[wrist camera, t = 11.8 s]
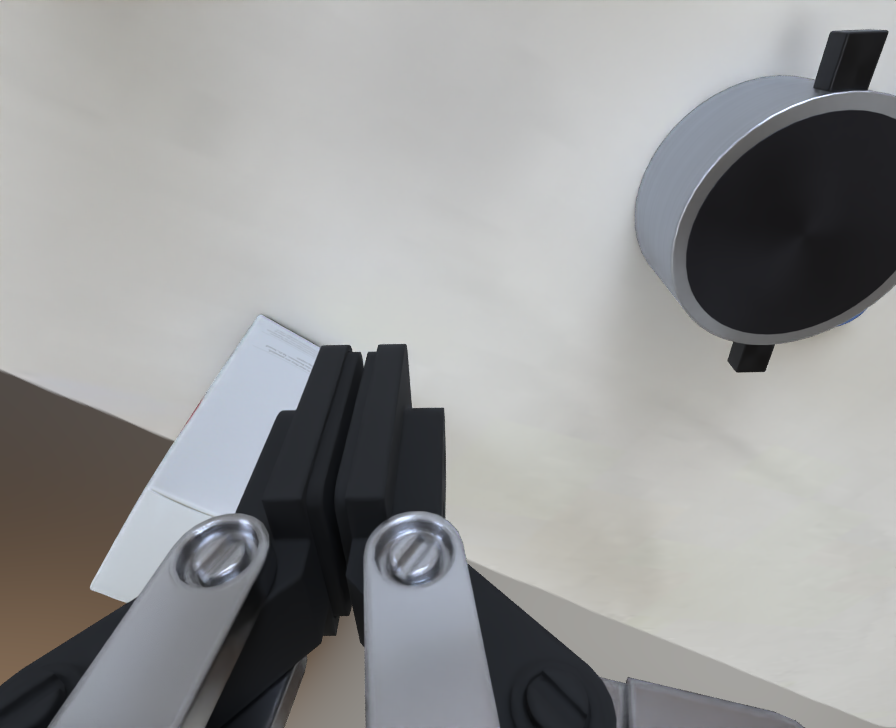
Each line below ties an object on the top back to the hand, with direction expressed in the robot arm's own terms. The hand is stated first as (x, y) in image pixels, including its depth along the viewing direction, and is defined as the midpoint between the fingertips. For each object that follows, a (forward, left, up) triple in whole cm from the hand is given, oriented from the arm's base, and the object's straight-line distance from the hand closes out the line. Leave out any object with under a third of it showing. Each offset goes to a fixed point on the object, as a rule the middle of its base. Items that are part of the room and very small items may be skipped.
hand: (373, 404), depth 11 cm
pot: (+2, +18, -21) cm, 28 cm away
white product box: (+15, -10, -21) cm, 28 cm away
